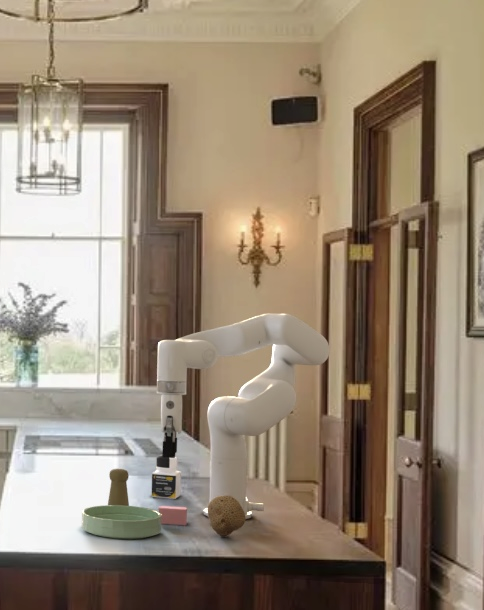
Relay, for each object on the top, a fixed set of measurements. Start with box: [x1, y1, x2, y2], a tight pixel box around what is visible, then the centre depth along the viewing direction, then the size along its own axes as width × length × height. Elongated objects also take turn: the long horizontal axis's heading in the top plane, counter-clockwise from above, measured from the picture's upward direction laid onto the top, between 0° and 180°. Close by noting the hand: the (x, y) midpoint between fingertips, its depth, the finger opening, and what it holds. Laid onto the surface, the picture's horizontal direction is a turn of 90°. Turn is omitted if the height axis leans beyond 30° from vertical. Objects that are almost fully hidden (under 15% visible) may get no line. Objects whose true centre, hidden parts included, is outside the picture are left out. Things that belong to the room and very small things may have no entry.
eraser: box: [158, 505, 188, 526], centre depth 257 cm, size 7×3×4 cm, turn 79°
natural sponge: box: [206, 495, 246, 538], centre depth 243 cm, size 9×9×10 cm
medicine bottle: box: [151, 454, 182, 500], centre depth 295 cm, size 7×7×12 cm
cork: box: [107, 468, 130, 506], centre depth 274 cm, size 6×6×11 cm
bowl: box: [81, 504, 162, 540], centre depth 246 cm, size 19×19×4 cm
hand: (169, 455), depth 258 cm, fingers open, 9 cm apart
